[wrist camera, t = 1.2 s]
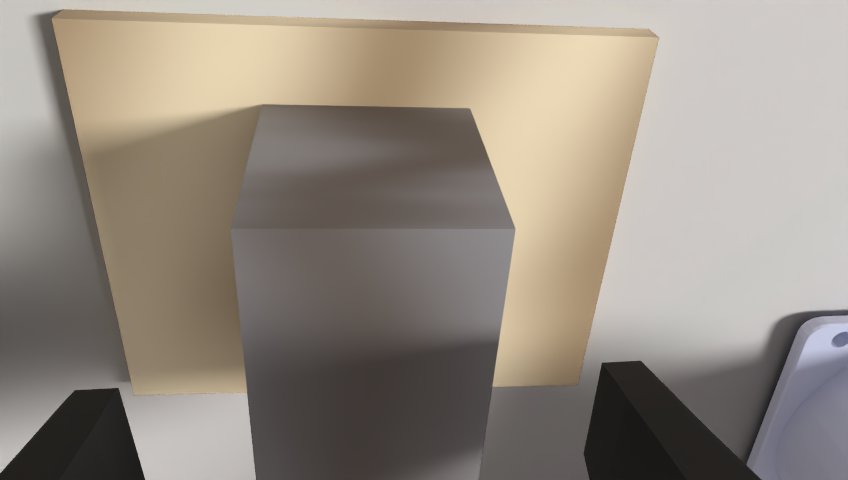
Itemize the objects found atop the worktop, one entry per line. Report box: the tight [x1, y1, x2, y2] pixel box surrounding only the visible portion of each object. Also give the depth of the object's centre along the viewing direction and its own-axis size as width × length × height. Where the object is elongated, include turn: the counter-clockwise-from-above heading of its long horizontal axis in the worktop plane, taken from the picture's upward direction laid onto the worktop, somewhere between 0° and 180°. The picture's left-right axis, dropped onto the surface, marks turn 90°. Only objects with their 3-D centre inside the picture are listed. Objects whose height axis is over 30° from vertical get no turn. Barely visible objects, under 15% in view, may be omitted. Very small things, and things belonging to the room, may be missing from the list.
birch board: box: [52, 9, 659, 480], centre depth 14 cm, size 11×9×6 cm
